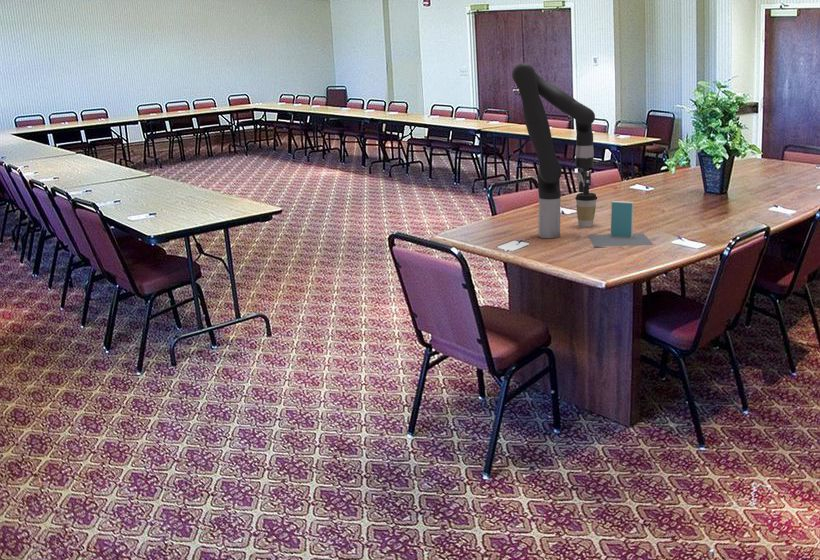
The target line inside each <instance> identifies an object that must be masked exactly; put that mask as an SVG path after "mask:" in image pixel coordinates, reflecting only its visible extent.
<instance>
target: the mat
mask: <svg viewBox="0 0 820 560" xmlns="http://www.w3.org/2000/svg"><path fill="white" fill-rule="evenodd" d="M610 235H611V233H610V234H587V237H588V239H589V240H590V242H591V244H592V245H593V248H594V249H599V248H600V249H601V248H602V249H603V248H609V247H625V246H627V247H628V246H629V247H630V246H634V247H635V246H654V245H655V244H654V243H653V242H652V241H651V240H650V238H648V237H647V235H645V233H643V232H642V233H641V232H640V233H633V237H632V238H630V237H617V236H610Z"/></svg>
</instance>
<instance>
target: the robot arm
mask: <svg viewBox="0 0 820 560" xmlns="http://www.w3.org/2000/svg"><path fill="white" fill-rule="evenodd" d="M511 72H512V73H511V77H512V81H513V82H514V83H515V86H516V88H517V90H518V92H519V96H520V98H521V101H522V111H523V119H524V123H525V127H526V129H527V134H528V137H529V139H530V141H531V144H532V145H533V148H534V150H535V152H536V156H537V160H538V164H539V165H538V169H537V170H538V171H537V180H538V181H537V184H538V187H537V188H538V215H537V216H538V225H537V227H538V229H537V231H538V232H537V235H538V237H540V238H539V239H557V238H560V237H561V200H562V199H561V195H562V194H561V186H560V185H561V183H560V179H561V177H562V174H563V170H562V167H561V164H560V163H559V160H558V158H557V155H556V152H555V149H554V143H553V137H552V136H553V135H552V131H551V127H550V124H549V120H548V116H547V113H546V109H545V107H544V105H543V102H542V99H541V97H542V98H543V99H544V100H546V101H547V102H548V103H550V104H551V105H552V106H553V107H555V108H556V109H558V110H559V111H561V112H562V113H564V114H566V115H568V116H570V117H571V118H572V119H573V120H575V122H574V123H575V130H576V138H575V139H576V140H575V141H576V142H575V144H576V145H575V166H574V167H575V168H577V177H576V179H577V183H578V193H583V195H584V196H588V195H589V193H590V186H591V185H592V184H591V183H592V180H591V179H592V178H591V177H592V171H589V169H590V168H593V167H594V156H595V155H594V153H595V152H594V133H593V131H592V128H593V127H592V124H593V123H594V121H595V119H596V115H595V112H594V110H592V109H591V108H589V107H588V106H586V105H585V104H583V103H581V102H579V101H577V100H576V99H575V98H574V97H573V96H572V95H569V94H568V93H567V92H565V91H563V90H562V89H561V88H558V87H557V86H555V85H554V84H551V83H550V82H548V81H547V80H546V79H544V78H543V77H542V76H540V75H539V74H538V73H537V72H536V70H535V68H534V67H533V66H532V65H530V64H529V63H526V62H521V63H518V64H517V65H515V66H514V68H513V70H512V71H511Z"/></svg>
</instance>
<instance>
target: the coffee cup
mask: <svg viewBox="0 0 820 560" xmlns="http://www.w3.org/2000/svg"><path fill="white" fill-rule="evenodd" d="M574 199H575V202H576V206H575V207H576V216H577V223H578V228H579V227H580V229H584V228H591V227H594V219H595V215H596V208H597V207H596V206H597V200H598V196H597V194H596V193H594V192H589V195H588V196H584V195H583V192H581V193H580V192H578V193H577V194H576V196H575V197H574Z"/></svg>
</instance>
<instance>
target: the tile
mask: <svg viewBox="0 0 820 560" xmlns="http://www.w3.org/2000/svg"><path fill="white" fill-rule="evenodd" d="M610 206H611V207H610V212H611V213H610V234H611V235H610V236H617V237H630V238H632V237H633V234H634V216H635V215H634V214H635V213H634V212H635V209H634V208H635V202H634V201H624V200H612V201H611V205H610Z"/></svg>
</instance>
